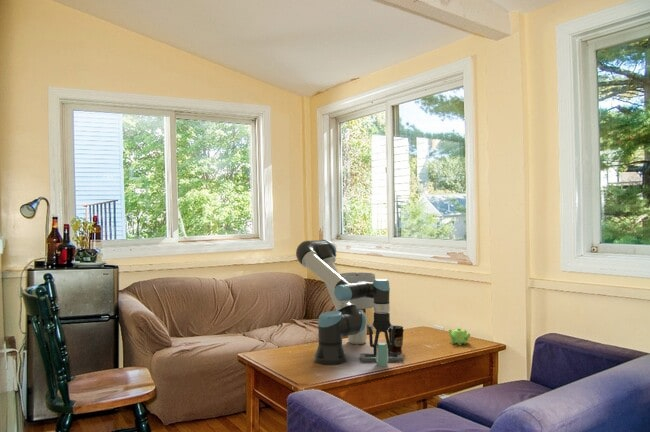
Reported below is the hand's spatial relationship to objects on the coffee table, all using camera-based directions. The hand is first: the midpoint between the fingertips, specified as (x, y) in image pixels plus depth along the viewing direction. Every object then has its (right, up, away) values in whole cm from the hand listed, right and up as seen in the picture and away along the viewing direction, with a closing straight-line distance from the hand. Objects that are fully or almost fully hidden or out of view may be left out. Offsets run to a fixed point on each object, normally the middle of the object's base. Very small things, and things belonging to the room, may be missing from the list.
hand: (382, 361), depth 246 cm
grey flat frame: (+1, -2, +9) cm, 9 cm away
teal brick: (0, -2, 0) cm, 2 cm away
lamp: (-9, -2, +44) cm, 45 cm away
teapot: (+46, -2, +39) cm, 61 cm away
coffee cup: (+10, -2, +24) cm, 26 cm away
